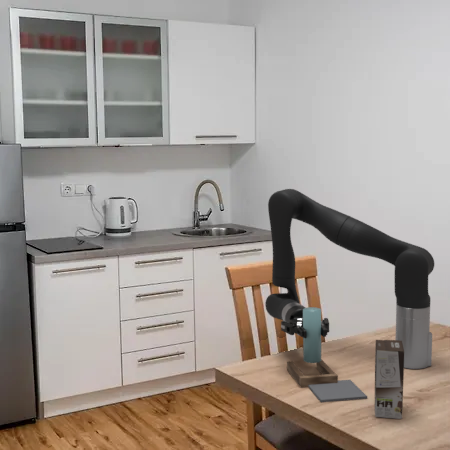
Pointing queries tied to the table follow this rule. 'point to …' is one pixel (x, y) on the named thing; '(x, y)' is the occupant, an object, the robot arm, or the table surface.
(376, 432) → the table surface
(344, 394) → the felt pad
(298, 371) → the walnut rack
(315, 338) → the canister
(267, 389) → the table surface
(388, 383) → the coffee box
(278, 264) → the robot arm
